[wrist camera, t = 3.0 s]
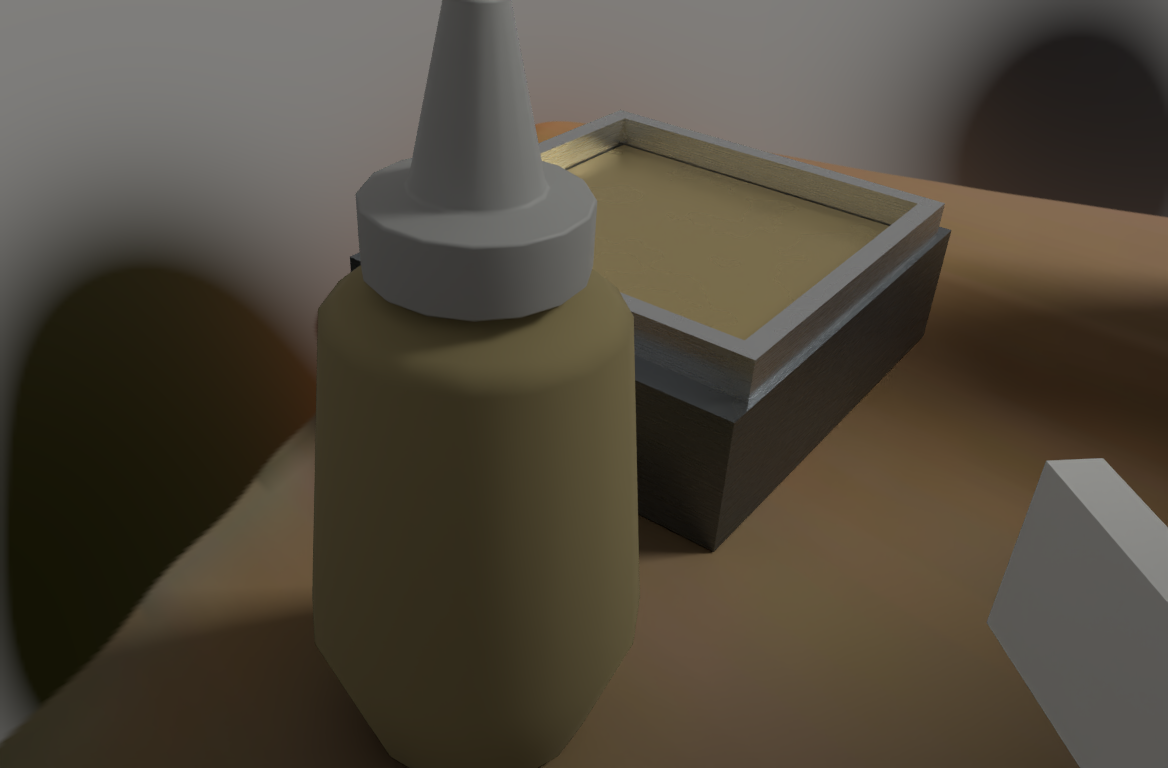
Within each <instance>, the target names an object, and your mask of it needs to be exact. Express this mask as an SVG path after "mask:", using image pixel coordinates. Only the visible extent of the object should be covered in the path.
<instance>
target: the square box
mask: <svg viewBox="0 0 1168 768" xmlns="http://www.w3.org/2000/svg"><path fill="white" fill-rule="evenodd" d="M539 150H540V155H541V160H542V161H544V162H548V163H551V164H555V165H558V166H560V167H562V168H563V169H565V170H567V171H569V172H570V173H572V174H574V175H576V176H577V177H579V178H581V179H583V180H584V181H585V183H586V184H587V186H588V187H589V189H590V190H591V192H592V193H593V195H594V197H595V198H596V200H597V213H596V229H595V244H594V259H593V268H592V269H593V270H595V271H596V272H598V273H599V274H600V275H602V276H603V277H604V278H605V279H607V280H608V281H609V282H610V283H612V284H613V285H614V286H615V287H617V288H618V290H619V292H620V293H621V295H622V297H623V299H624V300H625V302H626V304H627V306H628V307H629V309H630V311H631V313H632V314H633V316H634V354H635V400H636V446H637V493H638V514H639V515H641V516H643V517H645V518H647V519H649V520H651V521H653V522H655V523H657V524H659V525H661V526H663V527H665V528H667V529H669V530H671V531H673V532H675V533H677V534H679V535H681V536H683V537H685V538H687V539H689V540H691V541H693V542H695V543H697V544H699V545H701V546H703V547H705V548H707V549H709V550H711V551H713V552H714V551H715V550H716V549H717V548H718V547H719V546H720V545H721V544H722V543H723V542H724V541H725V540H726V539H727V538H728V537H729V536H730V534H731V533H732V532H733V531H734V530H735V529H736V528H737V527H738V526H739V525H740V524H741V523H742V522H743V521H744V520H745V519H746V518H747V517H748V516H749V515H750V514H751V513H752V512H753V511H754V510H755V509H756V508H757V507H758V506H759V505H760V504H761V503H762V502H763V500H764V499H765V498H766V497H767V496H768V495H769V494H770V493H771V492H772V491H773V490H774V489H775V488H776V487H777V486H778V485H779V484H780V483H781V482H782V481H783V480H784V479H785V478H786V477H787V476H788V475H789V474H790V473H791V472H792V471H793V470H794V469H795V468H796V466H797V465H798V464H799V463H800V462H801V461H802V460H803V459H804V458H805V457H806V456H807V455H808V454H809V453H810V452H811V451H812V450H813V449H814V448H815V447H816V446H817V445H818V444H819V443H820V442H821V441H822V440H823V439H824V438H825V437H826V436H827V435H828V433H829V432H830V431H831V430H832V429H833V428H834V427H835V426H836V425H837V424H838V423H839V422H840V421H841V420H842V419H843V418H844V417H845V416H846V415H847V414H848V413H849V412H850V411H851V410H852V409H853V408H854V407H855V406H856V405H857V404H858V403H859V402H860V401H861V399H862V398H863V397H864V396H865V395H866V394H867V393H868V392H869V391H870V390H871V389H872V388H873V387H874V386H875V385H876V384H877V383H878V382H879V381H880V380H881V379H882V378H883V377H884V376H885V375H886V374H887V373H888V372H889V371H890V370H891V369H892V368H893V367H894V365H895V364H896V363H897V362H898V361H899V360H900V359H901V358H902V357H903V356H904V355H905V354H906V353H907V352H908V351H909V350H910V349H911V348H912V347H913V346H914V345H915V344H916V343H917V342H918V341H919V340H920V339H921V338H922V337H923V335H924V332H925V328H926V324H927V320H928V317H929V313H930V309H931V305H932V301H933V298H934V294H935V290H936V286H937V283H938V279H939V275H940V271H941V267H942V264H943V260H944V256H945V252H946V249H947V245H948V241H949V237H950V234H951V230H949V229H945V228H942V227H939V225H940V221H941V217H942V213H943V209H944V205H945V203H942V202H938V201H935V200H931V199H928V198H924V197H921V196H917V195H914V194H910V193H907V192H903V191H900V190H897V189H893V188H890V187H886V186H883V185H879V184H876V183H872V182H869V181H865V180H862V179H858V178H855V177H851V176H848V175H844V174H841V173H838V172H834V171H831V170H827V169H824V168H820V167H817V166H813V165H810V164H806V163H803V162H799V161H796V160H792V159H789V158H785V157H782V156H778V155H775V154H772V153H768V152H765V151H761V150H757V149H754V148H751V147H747V146H744V145H740V144H737V143H733V142H730V141H726V140H723V139H719V138H716V137H712V136H709V135H706V134H702V133H699V132H695V131H692V130H688V129H684V128H681V127H678V126H674V125H671V124H667V123H664V122H660V121H657V120H653V119H650V118H646V117H643V116H640V115H636V114H632V113H629V112H625V111H622V110H619V111H617V112H614V113H612V114H609V115H607V116H605V117H602V118H600V119H597V120H595V121H593V122H590V123H587V124H585V125H583V126H580V127H578V128H575V129H573V130H570V131H568V132H565V133H563V134H561V135H558V136H556V137H553V138H551V139H548V140H546V141H543V142H541V143H539ZM350 264H351V272H352V271H353V270H355V269H356V268H357V267H359V266H360V265H361V262H360V253H358V254H355V255H353V256H351V257H350Z"/></svg>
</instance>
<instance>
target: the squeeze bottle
mask: <svg viewBox="0 0 1168 768" xmlns="http://www.w3.org/2000/svg"><path fill="white" fill-rule="evenodd" d="M356 206H357V220H358V236H359V248H360V249H359V250H360V262H361V265H360V266H359V267H357V268H356V269H355V270H353V271H352V272H351V273H349V274H348V275H347V276H345V277H344V278H343V279H341V280H340V281H339V282H338V283H337V285H336V286H335V287H334V289H333V290H332V291H331V293H330V294H329V295H328V297H327V298H326V299H325V301H324V302H323V303H322V305H321V306H320V307H319V309H318V339H317V389H316V438H315V488H314V538H313V587H312V599H313V619H314V639H315V644H316V646H317V647H318V649H319V650H320V652H321V653H322V655H323V656H324V658H325V659H326V661H327V663H328V664H329V666H330V667H331V669H332V670H333V672H334V673H335V675H336V676H337V678H338V679H339V681H340V682H341V684H342V685H343V687H344V688H345V690H346V691H347V693H348V694H349V696H350V697H351V699H352V700H353V702H354V703H355V705H356V706H357V708H358V709H359V711H360V712H361V714H362V715H363V717H364V718H365V720H366V721H367V723H368V724H369V726H370V727H371V729H372V730H373V732H374V733H375V735H376V736H377V738H378V739H379V740H380V742H381V743H382V745H383V746H384V748H385V749H386V751H387V752H388V754H389V755H390V757H392V758H394V759H395V760H397V761H399V762H400V763H402V764H404V765H405V766H407V767H409V768H538V767H540V766H542V765H543V764H545V763H547V762H548V761H550V760H552V759H554V758H555V757H557V756H559V754H560V753H561V752H562V750H563V749H564V748H565V746H566V745H567V744H568V742H569V741H570V740H571V738H572V737H573V736H574V734H575V733H576V732H577V730H578V729H579V728H580V727H581V725H582V724H583V722H584V721H585V719H586V717H587V716H588V714H589V713H590V711H591V709H592V708H593V706H594V705H595V703H596V702H597V700H598V698H599V697H600V695H601V694H602V692H603V690H604V689H605V687H606V686H607V684H608V682H609V681H610V679H611V678H612V676H613V675H614V673H615V671H616V670H617V668H618V667H619V665H620V663H621V662H622V660H623V659H624V657H625V655H626V654H627V652H628V651H629V649H630V648H631V646H632V644H633V640H634V633H635V626H636V619H637V613H638V606H639V599H640V585H639V539H638V493H637V446H636V400H635V354H634V316H633V314H632V313H631V311H630V309H629V307H628V306H627V304H626V302H625V300H624V299H623V297H622V295H621V293H620V292H619V290H618V288H617V287H615V286H614V285H613V284H612V283H610V282H609V281H608V280H607V279H605V278H604V277H603V276H602V275H600V274H599V273H598V272H596V271H595V270H593V269H592V268H593V259H594V244H595V229H596V213H597V200H596V198H595V197H594V195H593V193H592V192H591V190H590V189H589V187H588V186H587V184H586V183H585V181H584V180H583V179H581V178H579V177H577V176H576V175H574V174H572V173H570V172H569V171H567V170H565V169H563V168H562V167H560V166H558V165H555V164H551V163H548V162H544V161H542V160H541V155H540V150H539V144H538V139H537V134H536V128H535V123H534V118H533V113H532V107H531V102H530V97H529V91H528V86H527V81H526V76H525V70H524V65H523V60H522V54H521V49H520V44H519V38H518V34H517V28H516V23H515V18H514V12H513V7H512V1H511V0H442V6H441V11H440V16H439V21H438V26H437V32H436V37H435V42H434V47H433V53H432V58H431V63H430V69H429V74H428V79H427V84H426V89H425V95H424V100H423V105H422V111H421V115H420V121H419V126H418V131H417V136H416V142H415V147H414V152H413V157H412V158H410V159H405V160H401V161H399V162H396V163H394V164H392V165H390V166H388V167H385V168H383V169H381V170H379V171H377V172H374V173H373V174H372V175H371V177H369V179H368V180H367V181H366V182H365V183H364V184H363V186H362V187H361V188H360V189H359V191H357V193H356Z"/></svg>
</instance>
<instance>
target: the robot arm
mask: <svg viewBox="0 0 1168 768" xmlns="http://www.w3.org/2000/svg"><path fill="white" fill-rule="evenodd" d="M987 624H988V625H989V627H990V629H991V630H992V632H993V633H994V635H995V636H996V638H997V639H998V641H999V643H1000V644H1001V646H1002V647H1003V649H1004V650H1005V652H1006V653H1007V655H1008V657H1009V658H1010V660H1011V661H1012V663H1013V664H1014V666H1015V667H1016V669H1017V671H1018V672H1019V674H1020V675H1021V677H1022V678H1023V680H1024V681H1025V683H1026V685H1027V686H1028V688H1029V689H1030V691H1031V692H1032V694H1033V695H1034V697H1035V699H1036V700H1037V702H1038V703H1039V705H1040V706H1041V708H1042V709H1043V711H1044V713H1045V714H1046V716H1047V717H1048V719H1049V720H1050V722H1051V723H1052V725H1053V727H1054V728H1055V730H1056V731H1057V733H1058V734H1059V736H1060V738H1061V739H1062V741H1063V742H1064V744H1065V745H1066V747H1067V748H1068V750H1069V752H1070V753H1071V755H1072V756H1073V758H1074V759H1075V761H1076V762H1077V764H1078V766H1079V767H1080V768H1168V527H1167V526H1166V525H1165V524H1164V523H1163V522H1162V521H1161V520H1160V519H1159V518H1158V517H1157V516H1156V514H1155V513H1154V512H1153V511H1152V510H1151V509H1150V508H1149V507H1148V506H1147V505H1146V504H1145V503H1144V502H1143V501H1142V499H1141V498H1140V497H1139V496H1138V495H1137V494H1136V493H1135V492H1134V491H1133V490H1132V489H1131V488H1130V487H1129V486H1128V484H1127V483H1126V482H1125V481H1124V480H1123V479H1122V478H1121V477H1120V476H1119V475H1118V474H1117V473H1116V472H1115V471H1114V469H1113V468H1112V467H1111V466H1110V465H1109V464H1108V463H1107V462H1106V461H1105V460H1104V459H1103V458H1096V459H1074V460H1052V461H1046V463H1045V466H1044V468H1043V471H1042V474H1041V476H1040V479H1039V482H1038V485H1037V487H1036V490H1035V493H1034V495H1033V498H1032V501H1031V504H1030V506H1029V509H1028V512H1027V514H1026V517H1025V520H1024V523H1023V525H1022V528H1021V531H1020V533H1019V536H1018V539H1017V541H1016V544H1015V547H1014V550H1013V552H1012V555H1011V558H1010V560H1009V563H1008V566H1007V569H1006V571H1005V574H1004V577H1003V579H1002V582H1001V585H1000V588H999V590H998V593H997V596H996V598H995V601H994V604H993V607H992V609H991V612H990V615H989V617H988V620H987Z"/></svg>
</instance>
